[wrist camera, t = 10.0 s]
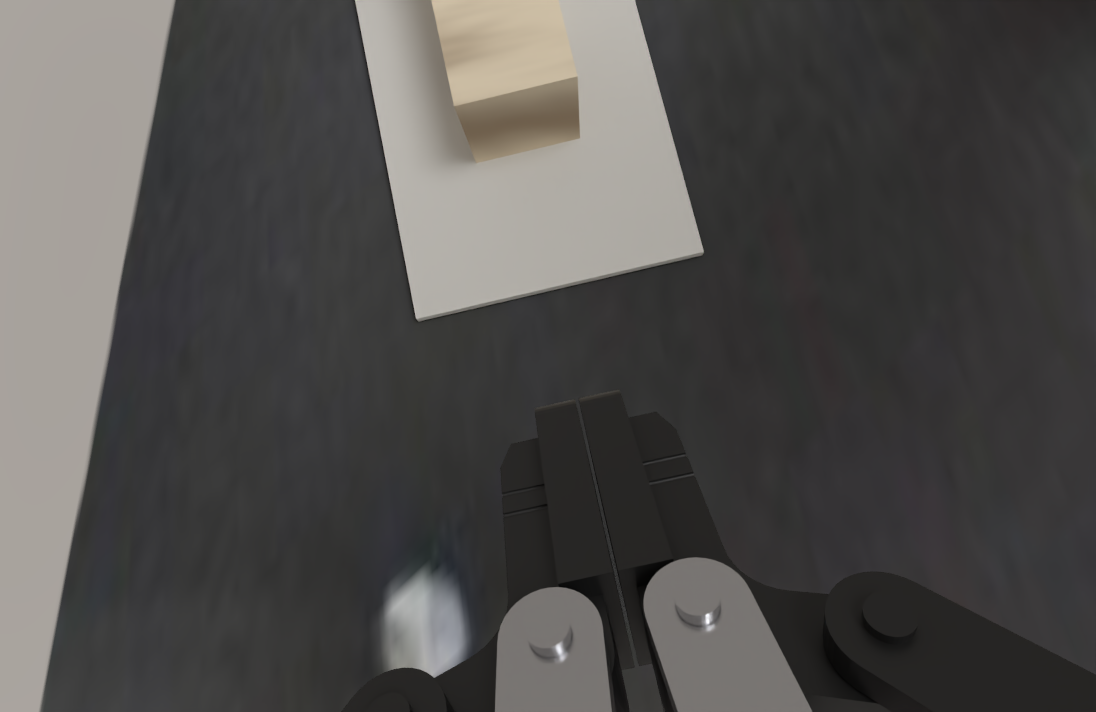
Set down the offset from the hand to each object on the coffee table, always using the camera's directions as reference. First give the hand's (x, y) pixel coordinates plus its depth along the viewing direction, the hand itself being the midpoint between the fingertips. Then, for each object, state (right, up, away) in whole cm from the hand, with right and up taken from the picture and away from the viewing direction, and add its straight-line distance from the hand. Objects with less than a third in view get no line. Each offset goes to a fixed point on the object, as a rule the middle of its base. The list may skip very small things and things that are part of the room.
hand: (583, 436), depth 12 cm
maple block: (-2, +13, +22) cm, 26 cm away
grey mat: (-3, +17, +27) cm, 31 cm away
